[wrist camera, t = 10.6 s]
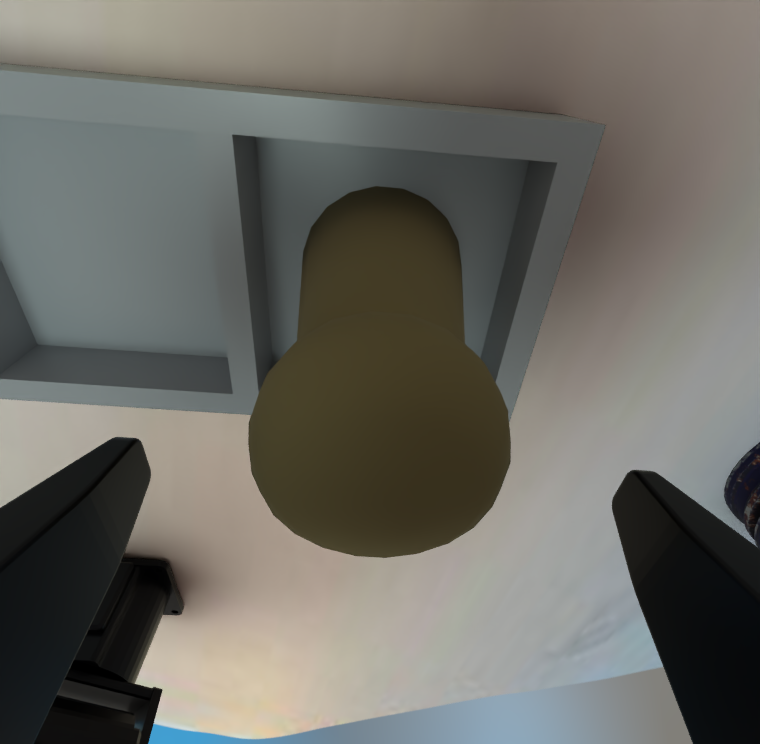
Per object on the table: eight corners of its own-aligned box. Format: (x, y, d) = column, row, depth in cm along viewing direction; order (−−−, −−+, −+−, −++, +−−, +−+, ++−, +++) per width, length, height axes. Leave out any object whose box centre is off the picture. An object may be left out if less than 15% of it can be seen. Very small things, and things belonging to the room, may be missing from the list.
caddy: (489, 381, 21) (506, 431, 18) (37, 350, 20) (-21, 397, 17) (561, 114, 14) (605, 124, 12) (-92, 54, 14) (-218, 50, 11)
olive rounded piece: (276, 293, 17) (154, 540, 8) (353, 148, 14) (298, 281, 5) (403, 361, 19) (421, 627, 10) (495, 245, 16) (640, 471, 7)
